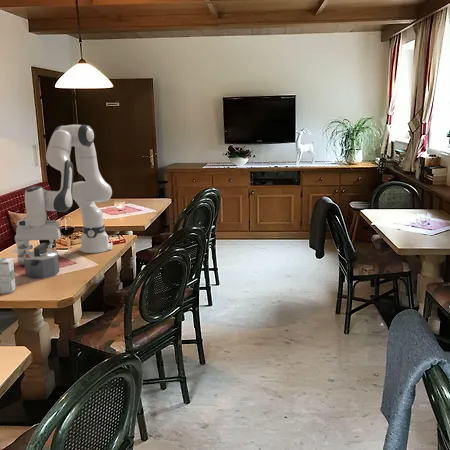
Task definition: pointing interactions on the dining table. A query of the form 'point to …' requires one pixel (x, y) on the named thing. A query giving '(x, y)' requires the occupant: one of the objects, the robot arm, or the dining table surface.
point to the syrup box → (7, 276)
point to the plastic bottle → (21, 250)
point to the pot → (42, 268)
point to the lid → (40, 253)
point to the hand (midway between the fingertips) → (40, 248)
